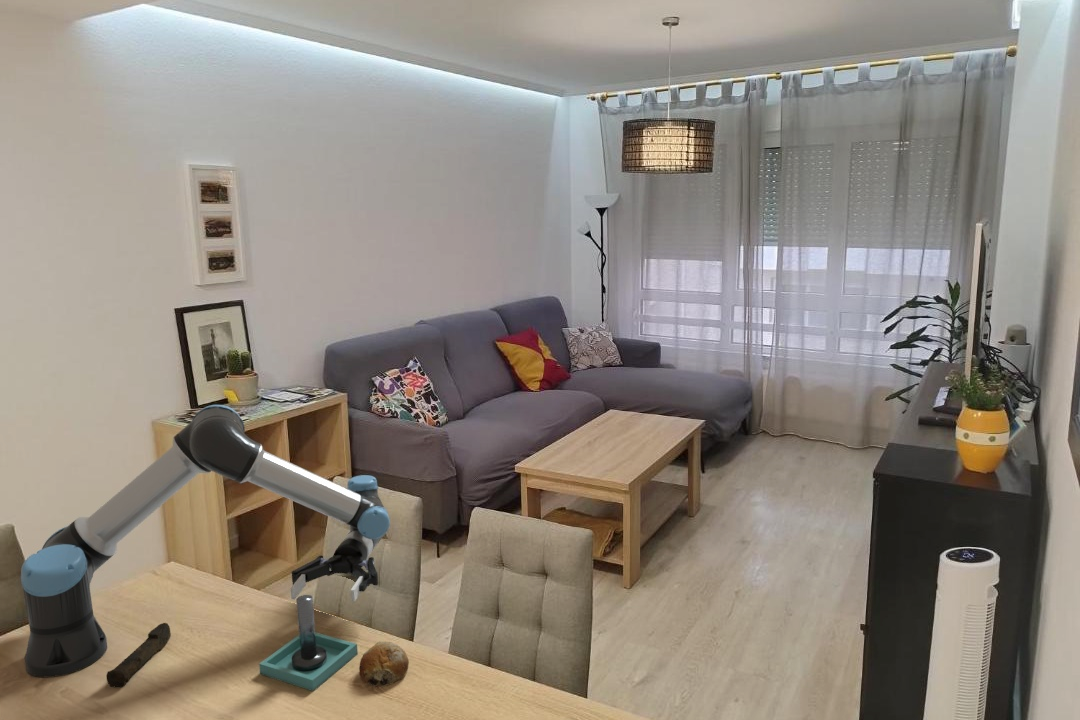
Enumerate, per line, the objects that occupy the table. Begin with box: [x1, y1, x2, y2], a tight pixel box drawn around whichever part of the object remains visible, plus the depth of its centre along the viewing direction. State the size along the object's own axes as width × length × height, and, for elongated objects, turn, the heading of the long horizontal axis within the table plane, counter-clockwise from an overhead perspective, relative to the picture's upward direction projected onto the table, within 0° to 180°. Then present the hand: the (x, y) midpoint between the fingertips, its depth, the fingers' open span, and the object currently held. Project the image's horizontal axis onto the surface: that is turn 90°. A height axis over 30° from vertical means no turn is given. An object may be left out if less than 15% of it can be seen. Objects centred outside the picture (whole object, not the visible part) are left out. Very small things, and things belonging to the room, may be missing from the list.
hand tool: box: [106, 622, 172, 688], centre depth 165 cm, size 19×4×5 cm, turn 171°
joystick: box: [292, 594, 327, 672], centre depth 162 cm, size 7×7×14 cm
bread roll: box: [358, 641, 410, 687], centre depth 160 cm, size 10×10×8 cm
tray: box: [258, 631, 359, 692], centre depth 163 cm, size 14×14×2 cm
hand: (322, 594), depth 171 cm, fingers open, 13 cm apart
